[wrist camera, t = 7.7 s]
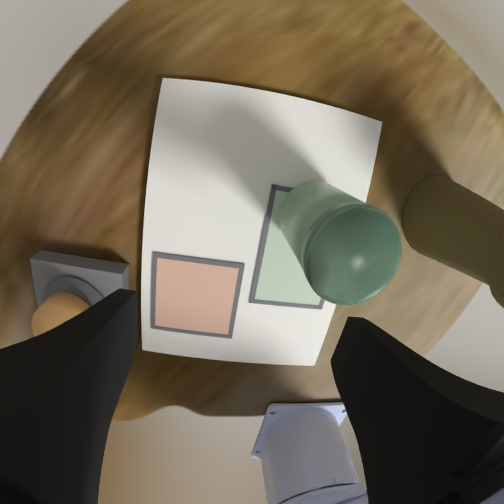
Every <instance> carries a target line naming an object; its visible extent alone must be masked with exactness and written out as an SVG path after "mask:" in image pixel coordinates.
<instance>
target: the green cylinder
mask: <svg viewBox="0 0 504 504" xmlns="http://www.w3.org/2000/svg"><path fill="white" fill-rule="evenodd" d="M279 224H280V228H281V231H282V233H283V235H284V237H285V239H286V240H287V242H288V244H289V246H290V247H291V249H292V251H293V253H294V255H295V256H296V258H297V260H298V262H299V264H300V265H301V267H302V269H303V272H304V275H305V277H306V279H307V281H308V283H309V284H310V286H311V288H312V289H313V291H314V292H315V293H316V294H317V295H318V296H319V297H321V298H322V299H324V300H325V301H327V302H330V303H333V304H337V305H353V304H357V303H361V302H364V301H366V300H368V299H370V298H372V297H373V296H375V295H376V294H378V293H379V292H380V291H381V290H383V289H384V287H385V286H386V285H387V284H388V283H389V282H390V280H391V279H392V277H393V276H394V274H395V272H396V270H397V268H398V265H399V262H400V258H401V251H402V243H401V237H400V233H399V230H398V228H397V226H396V224H395V223H394V221H393V220H392V219H391V218H390V217H389V216H388V215H387V214H386V213H384V212H383V211H381V210H380V209H378V208H376V207H374V206H372V205H370V204H367V203H364V202H362V201H361V200H359V199H357V198H355V197H353V196H351V195H349V194H347V193H346V192H344V191H342V190H340V189H338V188H336V187H334V186H332V185H330V184H328V183H325V182H321V181H309V182H305V183H302V184H300V185H298V186H296V187H295V188H293V189H292V190H291V191H290V192H289V193H288V194H287V196H286V197H285V198H284V200H283V202H282V204H281V207H280V211H279Z"/></svg>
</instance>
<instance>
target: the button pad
mask: <svg viewBox="0 0 504 504" xmlns="http://www.w3.org/2000/svg"><path fill="white" fill-rule="evenodd" d="M30 262H31V270H32V277H33V284H34V291H35V297H36V302H37V308H39V307H40V306H41V305H42V303H43V302H44V301H45V300H46V299H47V298H48V297H49V296H50V295H52V294H53V293H57V292H66V293H70V294H73V295H75V296H77V297H79V298H80V299H82V300H83V301H84V302H86V303H87V304H88V305H89V306H90V307H91V306H92V305H94V304H95V303H97V302H99V301H100V300H102V299H103V298H105V297H106V296H108V295H109V294H111V293H112V292H114V291H116V290H117V289H119V288H122V289H128V290H129V264H128V263H121V262H114V261H108V260H101V259H95V258H88V257H82V256H76V255H70V254H63V253H57V252H51V251H45V250H40V251H39V252H38V253H37V254H35V255H34V256H33V257H31V258H30Z"/></svg>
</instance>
